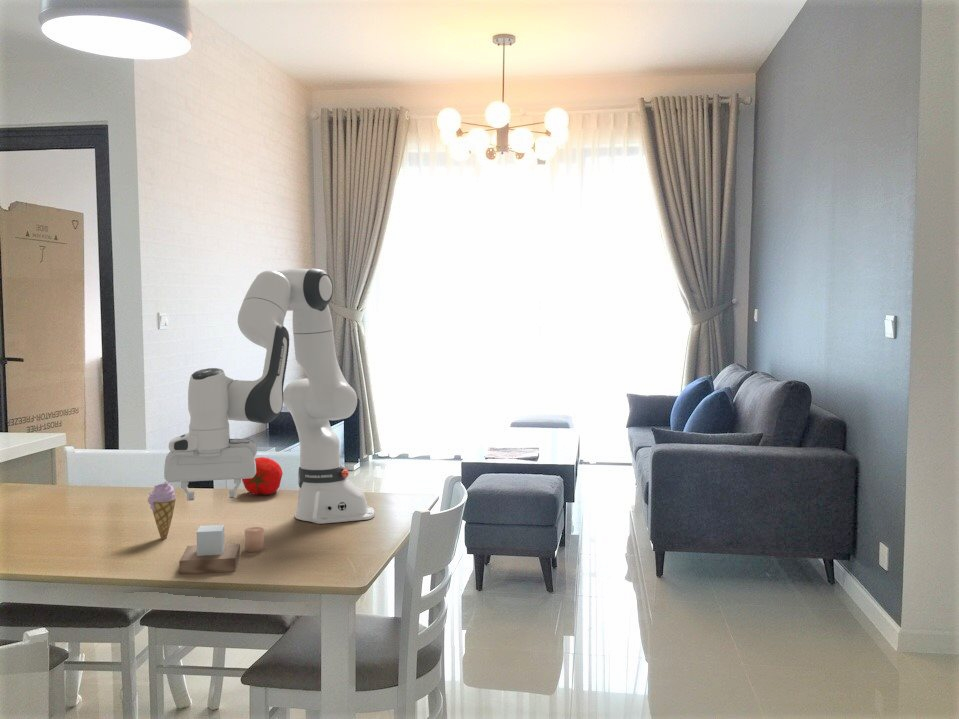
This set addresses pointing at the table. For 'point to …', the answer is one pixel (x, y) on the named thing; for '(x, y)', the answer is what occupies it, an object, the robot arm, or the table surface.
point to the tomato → (264, 477)
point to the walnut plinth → (210, 560)
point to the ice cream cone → (162, 506)
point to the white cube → (210, 540)
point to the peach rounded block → (254, 539)
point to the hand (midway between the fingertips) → (211, 498)
